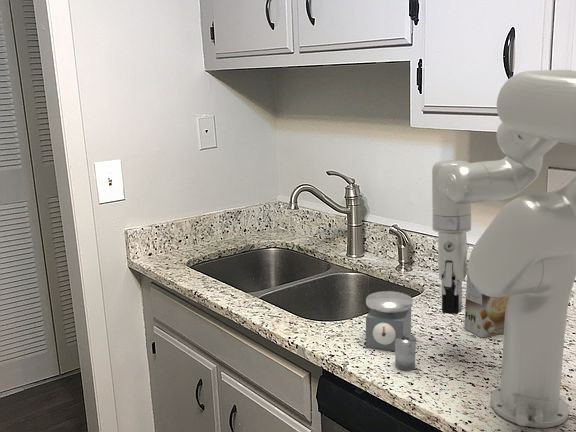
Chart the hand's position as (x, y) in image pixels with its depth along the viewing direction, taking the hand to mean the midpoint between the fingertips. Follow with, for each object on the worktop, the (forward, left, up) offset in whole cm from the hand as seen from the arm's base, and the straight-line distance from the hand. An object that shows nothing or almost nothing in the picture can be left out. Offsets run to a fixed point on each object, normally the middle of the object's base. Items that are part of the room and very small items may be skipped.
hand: (451, 308), depth 124 cm
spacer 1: (-9, +8, -10) cm, 15 cm away
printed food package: (+14, -7, -10) cm, 19 cm away
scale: (+2, +13, -10) cm, 17 cm away
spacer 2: (0, 0, 0) cm, 0 cm away
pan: (+2, +13, -3) cm, 14 cm away
